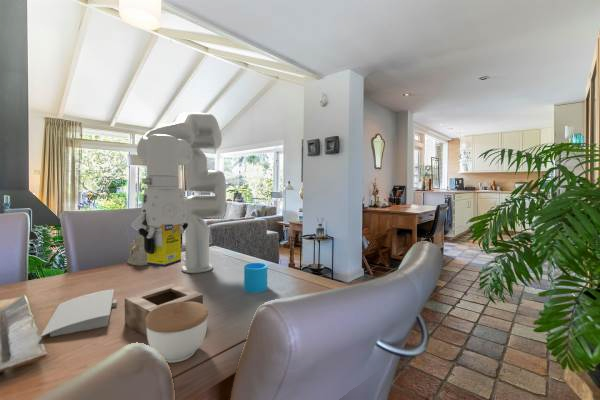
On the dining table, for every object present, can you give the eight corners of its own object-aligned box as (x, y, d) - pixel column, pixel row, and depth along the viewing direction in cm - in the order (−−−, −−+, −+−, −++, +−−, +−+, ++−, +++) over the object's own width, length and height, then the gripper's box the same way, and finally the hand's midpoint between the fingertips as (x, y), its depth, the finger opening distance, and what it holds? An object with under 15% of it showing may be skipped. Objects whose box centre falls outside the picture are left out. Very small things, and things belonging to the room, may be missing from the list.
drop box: (125, 323, 77) (124, 297, 77) (174, 306, 89) (174, 283, 88) (152, 341, 69) (152, 312, 69) (203, 319, 81) (203, 294, 80)
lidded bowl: (174, 334, 73) (173, 290, 72) (219, 343, 69) (219, 297, 68) (131, 364, 61) (130, 312, 60) (183, 376, 57) (182, 321, 56)
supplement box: (181, 261, 80) (181, 222, 79) (164, 267, 74) (163, 225, 74) (164, 259, 82) (164, 220, 81) (146, 265, 76) (146, 223, 76)
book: (120, 298, 95) (120, 286, 95) (117, 330, 75) (117, 315, 75) (60, 308, 88) (60, 295, 87) (39, 345, 68) (38, 329, 68)
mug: (270, 290, 103) (270, 267, 102) (246, 294, 100) (247, 270, 99) (261, 280, 114) (261, 259, 113) (239, 282, 111) (240, 261, 110)
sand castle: (168, 261, 137) (166, 229, 136) (127, 268, 128) (125, 233, 128) (164, 256, 150) (162, 227, 150) (127, 261, 141) (125, 230, 141)
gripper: (135, 183, 68) (137, 259, 69) (200, 183, 82) (200, 246, 83) (121, 182, 72) (122, 254, 73) (184, 183, 86) (185, 243, 87)
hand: (164, 249), depth 78 cm, fingers closed on supplement box, 6 cm apart
